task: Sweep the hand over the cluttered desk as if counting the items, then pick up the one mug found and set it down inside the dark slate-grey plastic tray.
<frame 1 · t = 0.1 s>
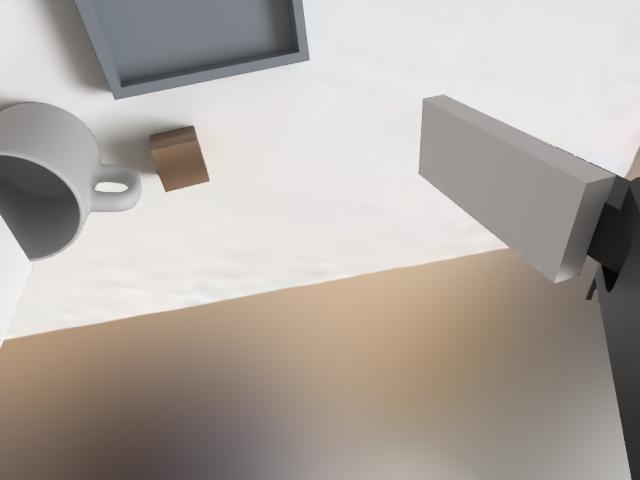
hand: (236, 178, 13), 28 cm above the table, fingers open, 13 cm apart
mug: (69, 152, 37), on the table
walnut block: (178, 150, 40), on the table
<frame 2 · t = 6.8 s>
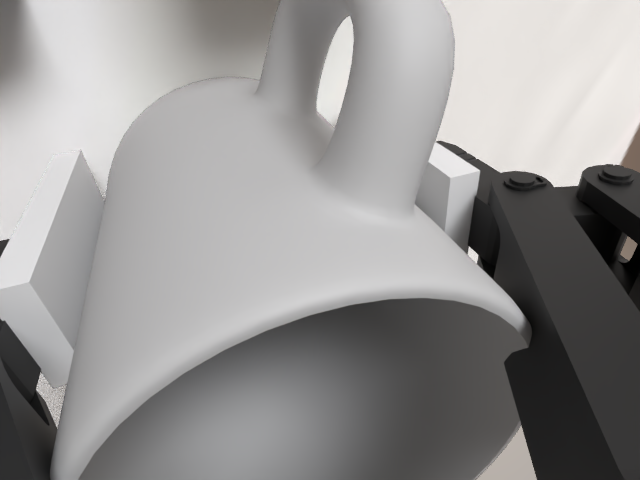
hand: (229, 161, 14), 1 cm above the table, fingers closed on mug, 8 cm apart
mug: (243, 147, 15), on the table, touching gripper
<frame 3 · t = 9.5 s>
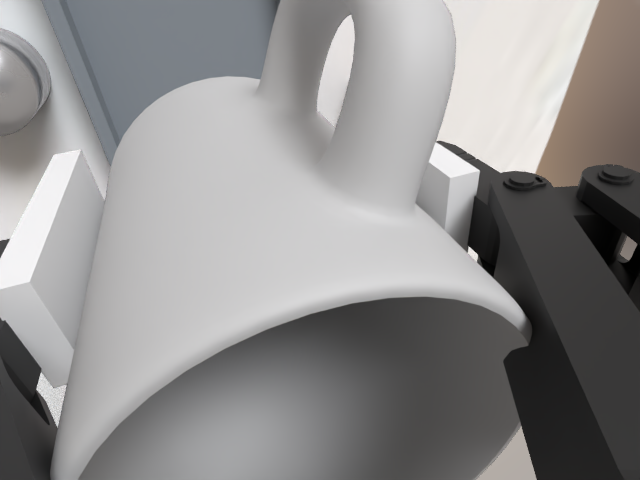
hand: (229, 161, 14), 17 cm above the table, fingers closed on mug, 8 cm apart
mug: (243, 146, 15), point 16 cm above the table, touching gripper
tray: (192, 61, 27), on the table
chrome bearing sphere: (1, 72, 25), on the table
when the fingers open (3 cm above the table, at t = 12.1 s): mug drops 2 cm, resting on tray.
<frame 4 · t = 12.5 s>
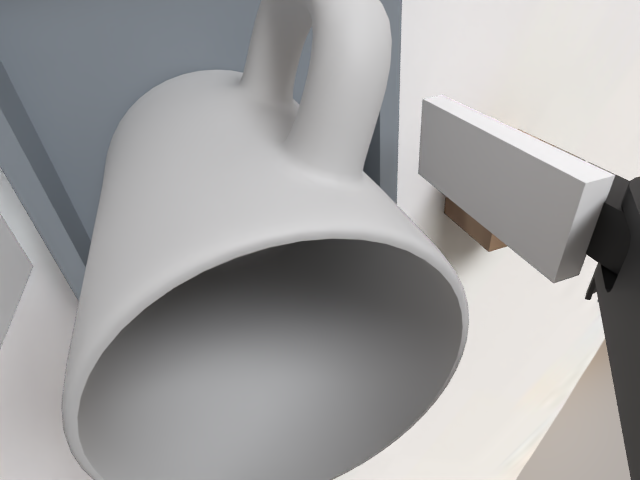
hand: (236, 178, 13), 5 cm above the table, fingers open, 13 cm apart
mug: (229, 134, 16), resting on tray
tray: (218, 129, 17), on the table
walnut block: (478, 171, 22), on the table
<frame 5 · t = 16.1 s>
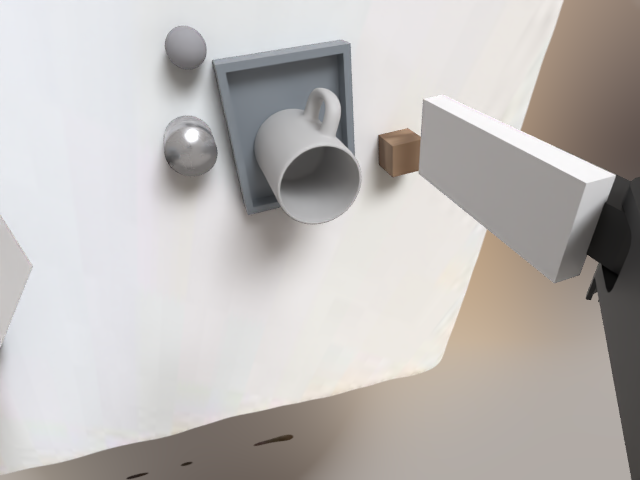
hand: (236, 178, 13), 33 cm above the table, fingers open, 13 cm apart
mug: (294, 130, 47), resting on tray
rubber ball: (186, 48, 38), point 2 cm above the table
tray: (289, 128, 47), on the table
walnut block: (392, 146, 53), on the table
chrome bearing sphere: (188, 139, 44), on the table
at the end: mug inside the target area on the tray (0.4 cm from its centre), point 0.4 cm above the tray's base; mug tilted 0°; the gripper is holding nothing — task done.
